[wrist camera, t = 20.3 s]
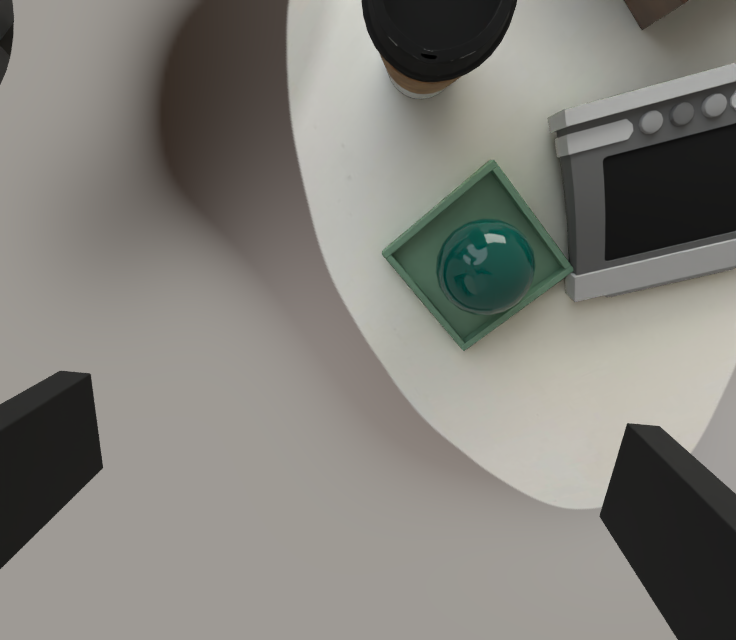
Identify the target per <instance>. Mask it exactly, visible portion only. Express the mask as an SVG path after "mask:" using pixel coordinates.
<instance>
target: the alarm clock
mask: <svg viewBox="0 0 736 640" xmlns="http://www.w3.org/2000/svg"><path fill="white" fill-rule="evenodd" d="M548 123H549V131H550V133H552V132H556V131H557V138H556V139H555V145H556V153H557V157H560V162H561V170H562V178H563V186H564V194H565V204H566V214H567V226H568V241H569V263H570V264H571V266H572V267H573V272H572V273H570V274H569V275H567V276H566V277H565V292H566V294H567V295H568V296H569V297H570V298H571V299H572V300H573V301H574V302H577V301H582V300H586V299H591V298H595V297H599V296H605V297H613V296H618V295H622V294H626V293H631V292H635V291H640V290H644V289H649V288H653V287H657V286H662V285H666V284H671V283H675V282H679V281H684V280H688V279H693V278H697V277H702V276H706V275H710V274H715V273H719V272H724V271H728V270H732V269H734V268H736V63H732V64H729V65H725V66H721V67H718V68H714V69H710V70H707V71H703V72H699V73H696V74H692V75H688V76H685V77H681V78H677V79H674V80H670V81H666V82H663V83H659V84H655V85H652V86H648V87H644V88H641V89H637V90H633V91H630V92H626V93H622V94H619V95H615V96H611V97H608V98H604V99H600V100H597V101H593V102H589V103H586V104H582V105H578V106H575V107H571V108H567V109H564V110H562V111H560V112H558V113H556V114H554V115H552V116H550V117H548Z"/></svg>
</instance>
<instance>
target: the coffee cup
mask: <svg viewBox="0 0 736 640" xmlns="http://www.w3.org/2000/svg"><path fill="white" fill-rule="evenodd" d="M516 4H517V0H362V8H363V16H364V20H365V23H366V27H367V30H368V33H369V35H370V38H371V40H372V42H373V44H374V46H375V48H376V49H377V50H378V51H379V53H380V55H381V58H382V60H383V62H384V65H385V67H386V69H387V72H388V75H389V77H390V79H391V81H392V83H393V84H394V85H395V87H396V88H397V89H398V90H399V91H400V92H402V93H403V94H405V95H407V96H408V97H412V98H416V99H424V98H430V97H432V96H435V95H437V94H438V93H440V92H442V91H443V90H444V89H445V88H446V87H447V86H449V85H450V84H452V83H453V82H454V81H456V80H457V79H459V78H460V77H461V76H463V75H466V74H467V73H469V72H471V71H472V70H474V69H475V68H477V67H479V66H480V65H481V64H482V63H483V62H484V61H485V60H486V59H487V58H488V57H490V56H491V55H492V53H493V52H494V51H495V49H496V48H497V47H498V45H499V44H500V43H501V41H502V39H503V37H504V35H505V33H506V32H507V30H508V28H509V26H510V23H511V20H512V17H513V14H514V10H515V7H516Z"/></svg>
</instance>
